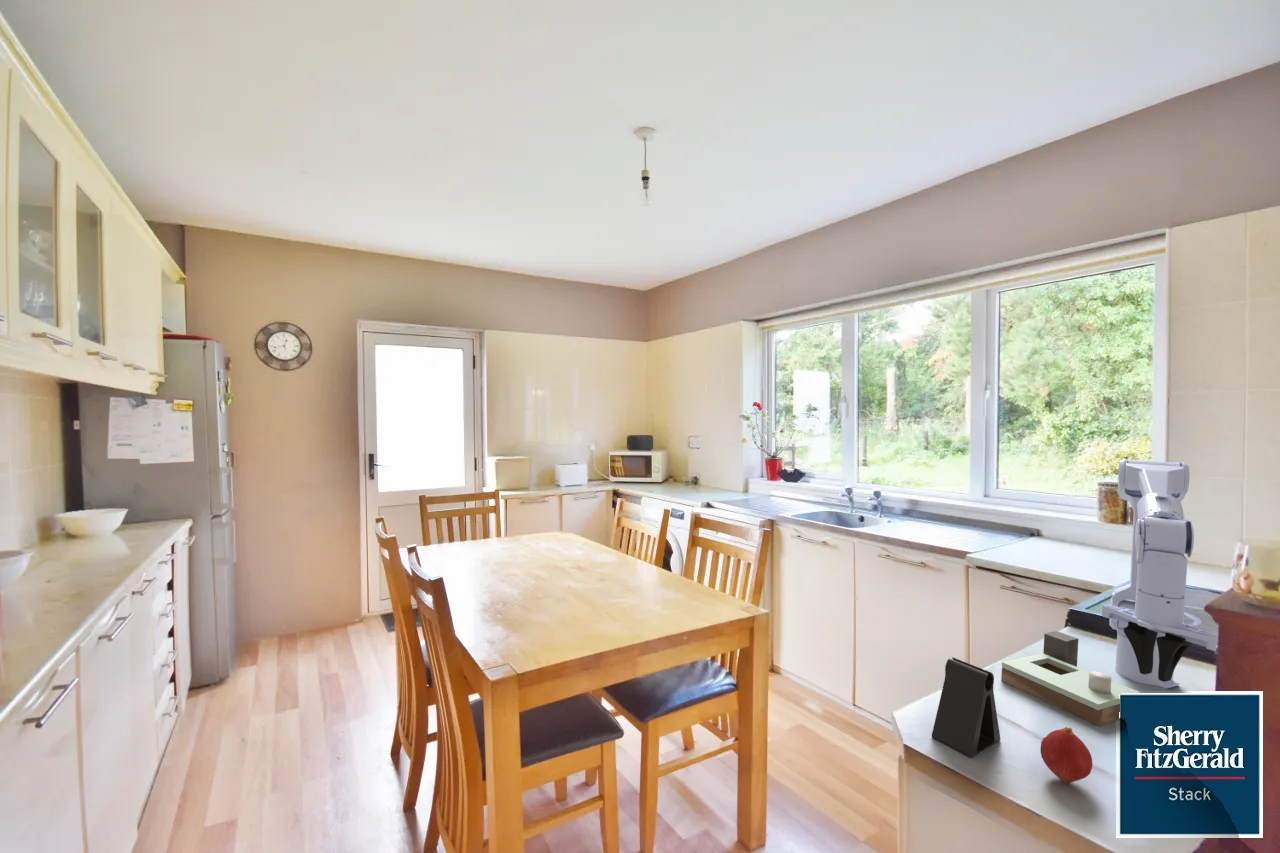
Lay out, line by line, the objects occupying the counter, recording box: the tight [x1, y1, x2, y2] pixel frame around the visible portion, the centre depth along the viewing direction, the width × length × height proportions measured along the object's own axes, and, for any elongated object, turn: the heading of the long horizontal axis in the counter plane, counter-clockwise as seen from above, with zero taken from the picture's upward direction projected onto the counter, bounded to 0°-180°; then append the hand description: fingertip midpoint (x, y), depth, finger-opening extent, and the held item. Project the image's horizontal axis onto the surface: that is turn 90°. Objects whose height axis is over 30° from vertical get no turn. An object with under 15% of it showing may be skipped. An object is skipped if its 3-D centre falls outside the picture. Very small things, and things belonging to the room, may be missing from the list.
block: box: [1042, 630, 1079, 667], centre depth 111 cm, size 4×4×8 cm
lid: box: [1001, 653, 1141, 710], centre depth 100 cm, size 12×16×4 cm
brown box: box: [1000, 663, 1120, 727], centre depth 100 cm, size 12×16×4 cm
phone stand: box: [931, 656, 1001, 759], centre depth 87 cm, size 9×6×12 cm, turn 121°
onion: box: [1040, 726, 1093, 784], centre depth 78 cm, size 6×6×8 cm
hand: (1155, 676), depth 89 cm, fingers closed
